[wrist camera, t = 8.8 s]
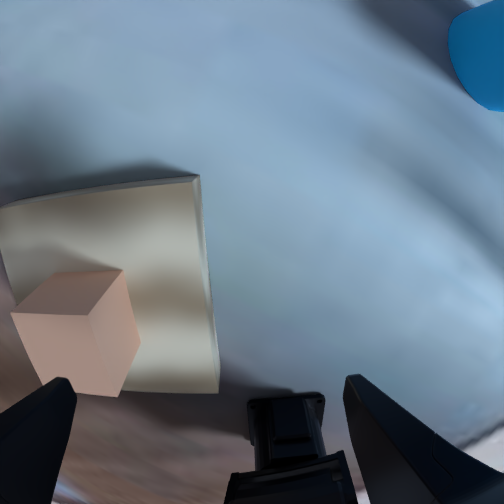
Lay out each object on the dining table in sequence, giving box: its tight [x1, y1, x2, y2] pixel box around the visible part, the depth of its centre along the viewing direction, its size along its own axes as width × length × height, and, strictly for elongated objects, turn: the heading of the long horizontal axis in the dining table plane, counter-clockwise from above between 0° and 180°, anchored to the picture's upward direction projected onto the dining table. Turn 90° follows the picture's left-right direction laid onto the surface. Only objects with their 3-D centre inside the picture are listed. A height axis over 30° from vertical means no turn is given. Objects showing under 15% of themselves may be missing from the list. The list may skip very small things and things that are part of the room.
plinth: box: [0, 175, 221, 393], centre depth 19 cm, size 14×14×3 cm
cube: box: [10, 270, 141, 397], centre depth 16 cm, size 5×5×5 cm
